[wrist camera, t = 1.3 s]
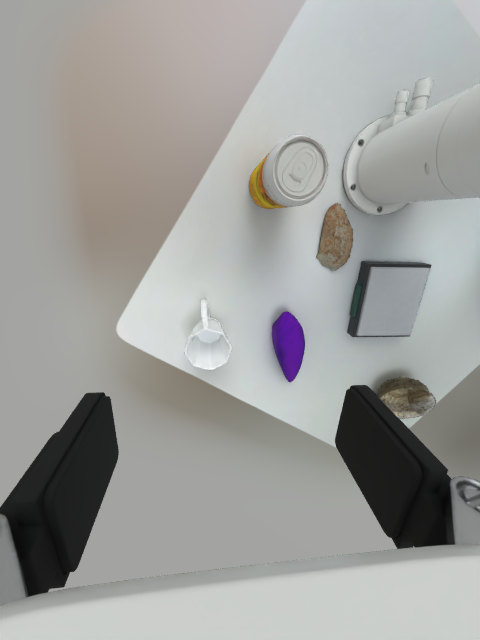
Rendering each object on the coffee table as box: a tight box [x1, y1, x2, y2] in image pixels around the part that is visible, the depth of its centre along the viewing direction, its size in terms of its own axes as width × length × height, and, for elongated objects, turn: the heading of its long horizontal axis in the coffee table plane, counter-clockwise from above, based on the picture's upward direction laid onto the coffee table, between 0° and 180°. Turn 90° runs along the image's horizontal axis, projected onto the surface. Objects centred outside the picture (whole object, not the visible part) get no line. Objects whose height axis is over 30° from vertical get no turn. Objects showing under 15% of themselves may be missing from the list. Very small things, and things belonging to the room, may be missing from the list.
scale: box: [347, 262, 431, 337], centre depth 45 cm, size 13×11×3 cm
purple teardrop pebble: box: [272, 312, 305, 382], centre depth 46 cm, size 5×5×15 cm
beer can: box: [249, 134, 328, 209], centre depth 31 cm, size 6×6×15 cm
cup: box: [184, 299, 232, 371], centre depth 41 cm, size 7×10×8 cm
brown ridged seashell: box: [378, 377, 436, 419], centre depth 52 cm, size 10×10×5 cm
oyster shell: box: [317, 203, 353, 271], centre depth 41 cm, size 10×4×5 cm
